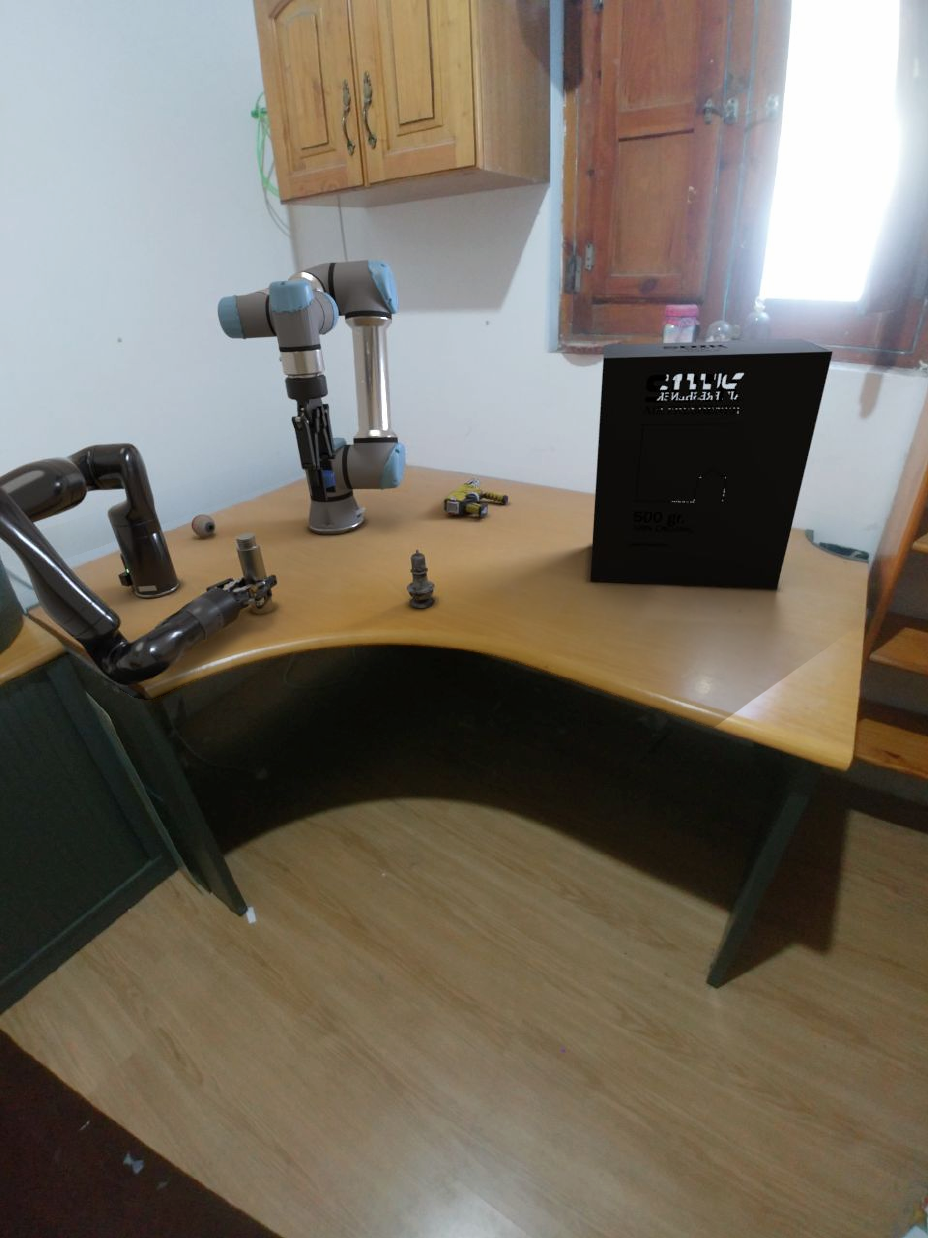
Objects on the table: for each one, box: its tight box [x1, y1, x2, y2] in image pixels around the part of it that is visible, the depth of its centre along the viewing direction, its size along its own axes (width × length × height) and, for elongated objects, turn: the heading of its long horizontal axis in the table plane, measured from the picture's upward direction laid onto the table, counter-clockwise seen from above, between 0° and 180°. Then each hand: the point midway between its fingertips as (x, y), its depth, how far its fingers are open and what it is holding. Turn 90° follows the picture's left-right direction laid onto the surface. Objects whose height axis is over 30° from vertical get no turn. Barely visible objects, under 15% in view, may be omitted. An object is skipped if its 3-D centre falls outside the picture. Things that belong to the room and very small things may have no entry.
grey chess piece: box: [406, 549, 436, 609], centre depth 124 cm, size 6×6×12 cm
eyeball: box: [191, 514, 216, 538], centre depth 166 cm, size 6×6×6 cm
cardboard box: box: [589, 338, 834, 590], centre depth 125 cm, size 38×20×45 cm, turn 78°
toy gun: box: [443, 478, 509, 519], centre depth 176 cm, size 5×24×15 cm
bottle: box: [235, 532, 275, 615], centre depth 124 cm, size 4×4×17 cm
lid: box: [323, 470, 336, 488], centre depth 122 cm, size 5×5×2 cm
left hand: (265, 577), depth 127 cm, fingers closed on bottle, 4 cm apart
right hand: (325, 495), depth 124 cm, fingers closed on lid, 5 cm apart
